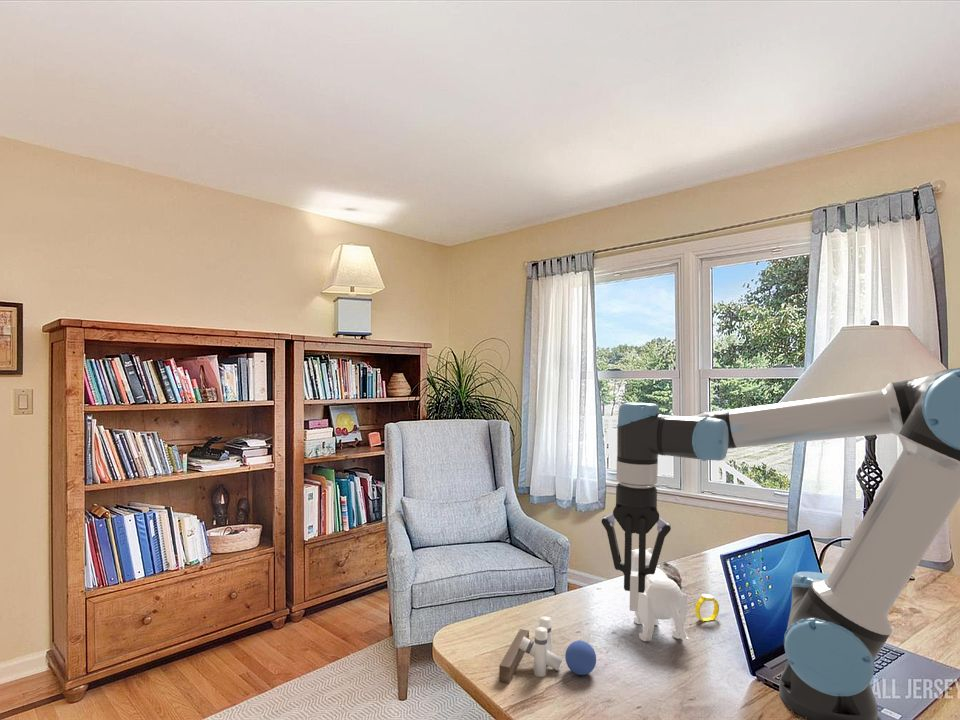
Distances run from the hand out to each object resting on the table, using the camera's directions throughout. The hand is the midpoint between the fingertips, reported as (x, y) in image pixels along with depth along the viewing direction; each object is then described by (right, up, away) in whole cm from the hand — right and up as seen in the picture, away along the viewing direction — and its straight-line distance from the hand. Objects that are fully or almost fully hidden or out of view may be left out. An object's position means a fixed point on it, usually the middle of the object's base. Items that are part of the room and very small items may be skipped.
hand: (633, 608), depth 108 cm
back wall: (-22, -14, +7) cm, 27 cm away
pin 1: (-16, -14, +8) cm, 23 cm away
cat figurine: (+11, -15, +21) cm, 28 cm away
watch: (+25, -16, +28) cm, 41 cm away
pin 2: (-18, -14, +3) cm, 23 cm away
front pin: (-13, -13, +4) cm, 19 cm away
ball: (-10, -11, +3) cm, 15 cm away
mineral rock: (+23, -16, +50) cm, 58 cm away
